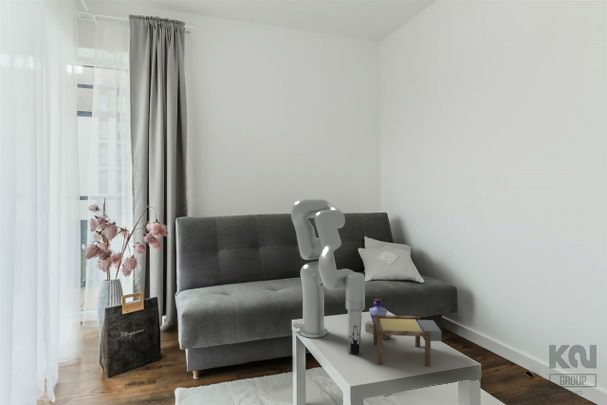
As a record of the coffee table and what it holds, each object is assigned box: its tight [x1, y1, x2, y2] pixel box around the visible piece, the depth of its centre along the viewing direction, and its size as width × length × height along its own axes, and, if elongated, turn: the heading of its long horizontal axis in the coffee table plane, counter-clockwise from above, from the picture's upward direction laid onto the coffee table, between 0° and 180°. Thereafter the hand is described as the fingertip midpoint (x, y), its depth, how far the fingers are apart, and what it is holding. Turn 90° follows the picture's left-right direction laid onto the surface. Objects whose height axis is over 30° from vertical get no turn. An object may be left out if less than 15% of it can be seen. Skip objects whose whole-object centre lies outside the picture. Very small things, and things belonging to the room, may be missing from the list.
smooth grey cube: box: [347, 335, 362, 355], centre depth 144 cm, size 5×5×5 cm
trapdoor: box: [380, 319, 443, 342], centre depth 140 cm, size 21×14×4 cm, turn 84°
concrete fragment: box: [364, 320, 392, 340], centre depth 161 cm, size 7×14×6 cm, turn 18°
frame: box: [372, 314, 432, 368], centre depth 140 cm, size 19×19×12 cm
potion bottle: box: [369, 298, 388, 322], centre depth 174 cm, size 9×9×12 cm
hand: (354, 349), depth 144 cm, fingers closed on smooth grey cube, 5 cm apart
